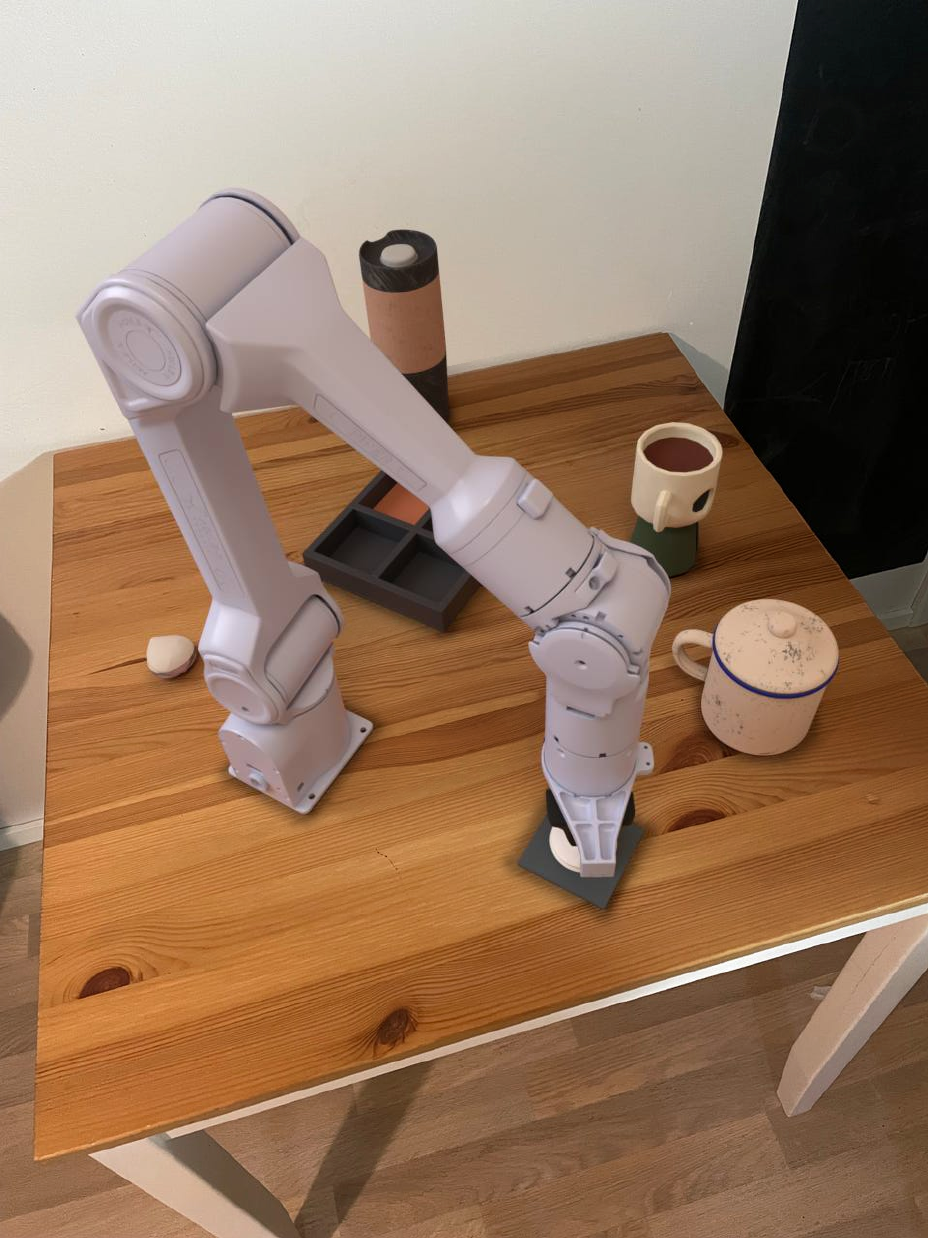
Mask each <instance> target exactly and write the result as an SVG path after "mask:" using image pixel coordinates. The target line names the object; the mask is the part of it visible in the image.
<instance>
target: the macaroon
mask: <svg viewBox="0 0 928 1238" xmlns="http://www.w3.org/2000/svg"><path fill="white" fill-rule="evenodd" d="M197 654H198V653H197V647H196V645H195V644H194V642H193V641H192V640H191V639H189V638H187V637H185V636H183V635H178V634H170V635H169V634H168V635H161V636H153V637H151V638H150V639H149V642H148V645H147V649H146V663H147V664H146V665H147V667H148V669H149V671H150V672H151V673H152V674H153V675H155V676H156V677H158V678H159V679H170V678H175V677H177V676H179V675H181V674H183V673H186V672H187V670H188V669H189V668H190V667H192V665H193V663H194V662H195V660H196V659H197Z"/></svg>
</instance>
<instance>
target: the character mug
mask: <svg viewBox="0 0 928 1238" xmlns="http://www.w3.org/2000/svg"><path fill="white" fill-rule="evenodd" d="M722 459H723V447H722V444H721V443H720V441H719V439H718V438H717V437H716V436H715V434H713V433H711V432H710V431H709V430H706V428H703V427H701V426H698V425H695V424H692V423H689V422H675V421H672V422H667V423H666V422H665V423H661V424H657V425H654V426H652V427H651V428H649V429H647V430H645V431H644V432H643V433H642V434H641V436H639V438H638V439H637V444H636V449H635V459H634V466H633V467H634V469H633V477H632V485H631V497H630V502H631V506H632V508H633V509H634V511H635V513H636V515H637V519H636V522H635V525H634V528H633V532H632V534H631V539H630V543H632V544H635V545H637V546H639V547H641V548H643V549H645V550H647V551H648V552H650V553H651V554H653V555H654V557H655V559H656V561H657V562H658V563H659V564H660V565H661V566H662V568H663V569H664V571H665V572H666V574H667V576H668V577H672V576H676V575H681V574H685V573H687V571H688V570H690V569H691V568H693V566H695V562H696V555H699V554H698V551H699V522H700V521H702V520H703V519H704V518H706V517H707V516H708V515H709V513H710V511H711V510H712V507H713V503H714V499H715V495H716V492H717V491H716V490H717V485H718V479H719V474H720V473H719V472H720V467H721V464H722Z"/></svg>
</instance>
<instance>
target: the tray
mask: <svg viewBox="0 0 928 1238" xmlns="http://www.w3.org/2000/svg"><path fill="white" fill-rule="evenodd" d="M301 556H302V559H303V563H304V566H306V567H308V568H310V569H312V570H314V571H316V572H318V574H319V576H320V579H321V581H322V582H325V583H327V584H330V585H332V586H335V587H337V588H339V589H341V590H344V591H346V592H349V593H351V594H353V595H355V596H358V597H360V598H363V599H365V600H367V601H370V602H372V603H374V604H376V605H379V606H381V607H383V608H386V609H388V610H390V611H393V612H395V613H397V614H399V615H402V616H404V617H406V618H409V619H410V620H413V621H416V622H419V623H420V624H423V625H425V626H427V627H430V628H432V629H435V630H437V631H439V632H442V633H445V632H446V631H447V630H448V629H449V628H450V626H451V625H452V623H453V622H454V621H455V620H456V619H457V617H458V616H459V614H460V613H461V611H462V610H464V608H465V607H466V605H467V604H468V602H469V601H470V600H471V598H472V597H473V596H474V594H475V593H476V592H477V591H478V590H479V588H480V587H481V585H482V584H481V583H480V582H479V581H478V580H476V579H475V578H474V577H473V576H472V575H471V574H470V573H469V572H467V571H466V570H465V569H464V568H463V567H462V566H461V565H459V564H458V563H457V562H456V561H455V560H454V559H453V558H452V557H450V556H449V555H448V554H447V553H446V552H445V551H444V550H443V549H442V548H440V547H439V546H438V545H437V544H436V542H435V538H434V533H433V524H432V515H431V509H430V507H429V506H428V505H427V504H425V503H424V502H423V501H421V500H420V499H419V498H418V497H416V496H415V495H414V494H412V493H411V492H410V491H408V490H407V489H406V488H405V487H403V486H402V485H401V484H399V483H398V482H397V481H396V480H394V479H393V478H392V477H390V476H389V475H388V474H386V473H385V472H384V471H383V470H381V469H380V471H379V472H378V473H377V474H376V475H375V476H374V477H373V478H372V479H371V481H369V482H368V484H366V485H365V486H364V487H363V488H362V490H360V492H359V493H357V495H356V496H355V497H354V498H353V499H352V500H351V501H350V502H349V503H348V504H347V506H346V507H344V509H342V510H341V512H340V513H339V514H338V515H336V517H335V518H334V519H333V520H332V521H331V522H330V523H329V524H328V525H327V527H326V528H324V530H323V531H322V532H320V534H319V535H318V536H317V537H316V538H315V539H314V540H313V541H312V542H311V543H310V544H309V546H307V548H306V549H305V550H303V552H302V553H301Z"/></svg>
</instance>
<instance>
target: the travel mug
mask: <svg viewBox="0 0 928 1238" xmlns="http://www.w3.org/2000/svg"><path fill="white" fill-rule="evenodd" d="M438 255H439V254H438V246H437V243H436V241H435V239H434V238H433V237H432V236H431V235H429V234H427V233H425V232H423V231H419V230H414V229H403V228H402V229H392V230H389V231H388V232H386V234H385V235H384V236H383V237H382V238H379V239H377V240H374V241H370V240H369V239H367V240H365V241H363V242H362V243H361V245H360V247H359V249H358V258H359V259H358V260H359V266H360V274H361V281H362V287H363V294H364V302H365V309H366V317H367V323H368V330H369V337H370V338H369V339H370V340H371V341H372V342H373V343H374V344H375V345H376V346H377V347H378V349H379V350H380V351H381V352H382V353H383V354H384V355H385V356H386V357H387V358H388V359H389V361H390V362H391V363H392V364H393V365H394V366H395V367H396V368H397V369H398V370H399V372H400V373H401V374H402V375H403V376H404V377H405V378H406V379H407V380H408V381H409V382H410V384H411V385H412V386H413V387H414V388H415V389H416V390H417V391H418V392H419V393H420V395H421V396H422V397H423V398H424V399H425V400H426V401H427V402H428V403H429V404H430V405H431V407H432V408H433V409H434V410H435V411H436V412H437V413H438V414H439V415H440V416H441V418H442V419H443V420H444V421H445V422H446V423H447V424H448V423H449V419H450V409H449V408H450V404H449V403H450V402H449V382H448V379H449V378H448V358H447V357H448V356H447V343H446V342H447V341H446V333H445V332H446V331H445V321H444V308H443V300H442V299H443V298H442V288H441V287H442V285H441V278H440V277H441V275H440V265H439V256H438Z"/></svg>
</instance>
